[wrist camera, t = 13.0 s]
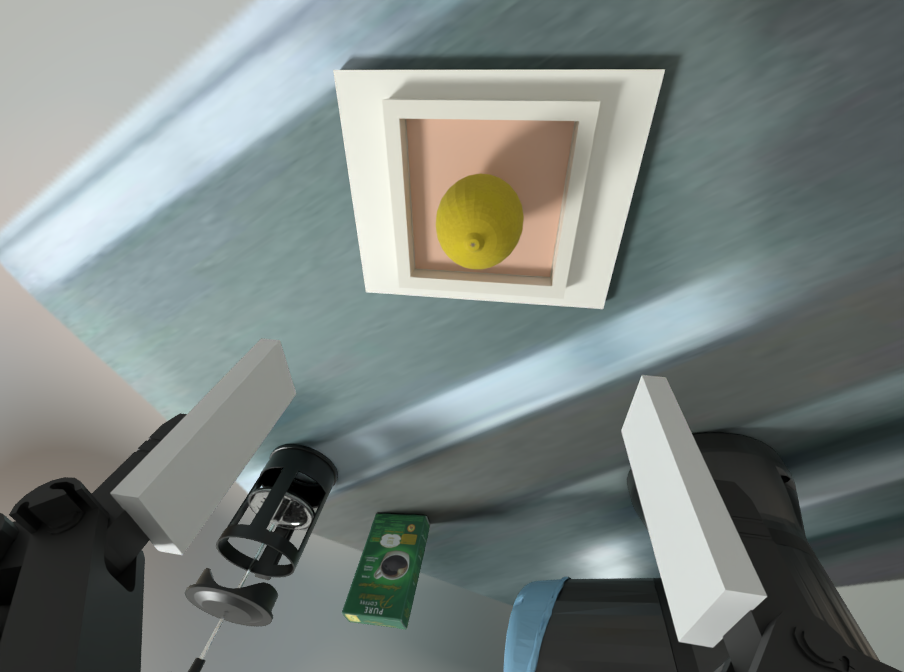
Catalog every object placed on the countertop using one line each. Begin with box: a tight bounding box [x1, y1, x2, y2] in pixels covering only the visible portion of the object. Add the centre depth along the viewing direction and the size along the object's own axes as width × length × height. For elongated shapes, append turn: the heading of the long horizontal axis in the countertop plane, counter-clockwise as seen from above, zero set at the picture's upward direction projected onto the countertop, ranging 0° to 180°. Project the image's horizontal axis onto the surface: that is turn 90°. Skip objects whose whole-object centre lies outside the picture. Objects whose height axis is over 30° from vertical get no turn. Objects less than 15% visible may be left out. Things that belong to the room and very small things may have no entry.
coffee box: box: [342, 514, 430, 629], centre depth 51 cm, size 8×3×13 cm, turn 101°
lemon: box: [436, 174, 524, 269], centre depth 25 cm, size 6×6×8 cm
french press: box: [185, 444, 338, 672], centre depth 44 cm, size 12×9×23 cm
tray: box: [333, 69, 665, 309], centre depth 28 cm, size 20×16×2 cm
